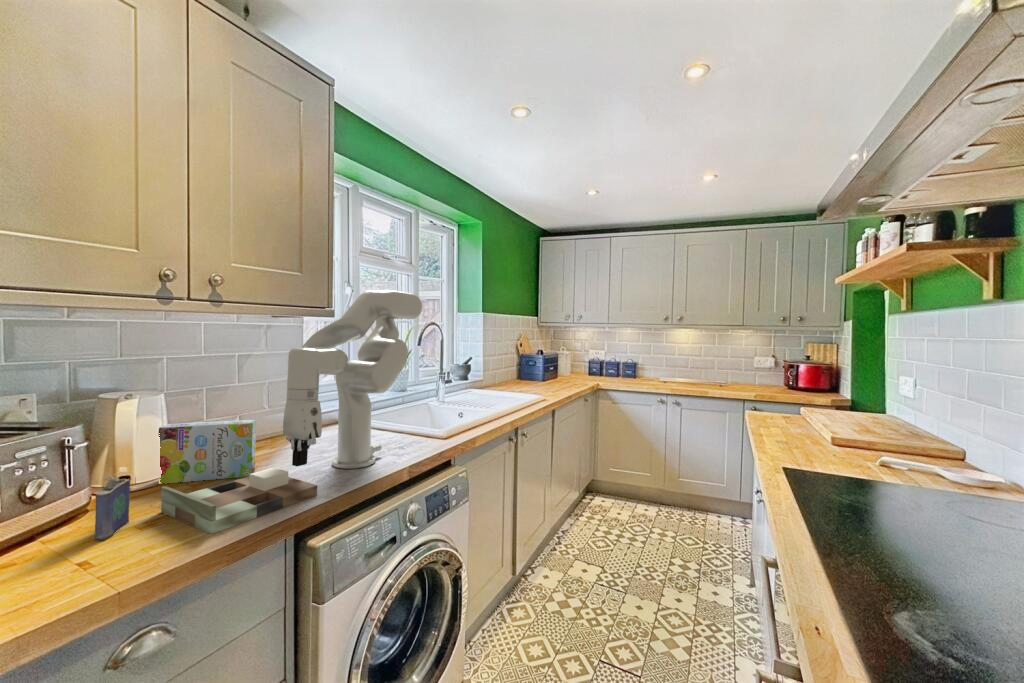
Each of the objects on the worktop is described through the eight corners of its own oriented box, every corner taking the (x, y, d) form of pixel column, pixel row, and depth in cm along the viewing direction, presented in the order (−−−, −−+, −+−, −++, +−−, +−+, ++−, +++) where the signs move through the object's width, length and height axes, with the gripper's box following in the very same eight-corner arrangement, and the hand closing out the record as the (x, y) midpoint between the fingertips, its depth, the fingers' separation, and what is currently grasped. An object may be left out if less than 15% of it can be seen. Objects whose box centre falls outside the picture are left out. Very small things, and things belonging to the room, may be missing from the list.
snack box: (255, 471, 122) (256, 418, 122) (251, 477, 117) (252, 422, 117) (165, 478, 114) (165, 422, 114) (156, 485, 109) (156, 427, 109)
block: (273, 479, 109) (273, 467, 109) (288, 483, 106) (288, 471, 106) (249, 486, 103) (249, 473, 103) (264, 491, 101) (264, 478, 101)
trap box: (267, 480, 115) (268, 460, 115) (317, 495, 105) (317, 473, 105) (161, 512, 94) (161, 487, 94) (211, 534, 84) (211, 506, 84)
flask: (108, 540, 81) (108, 484, 81) (88, 542, 80) (88, 485, 80) (132, 520, 90) (132, 469, 89) (114, 521, 89) (115, 470, 88)
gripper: (334, 396, 112) (331, 466, 112) (297, 391, 119) (294, 457, 119) (308, 398, 105) (305, 473, 105) (271, 393, 112) (268, 463, 112)
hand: (299, 464), depth 112 cm, fingers closed
